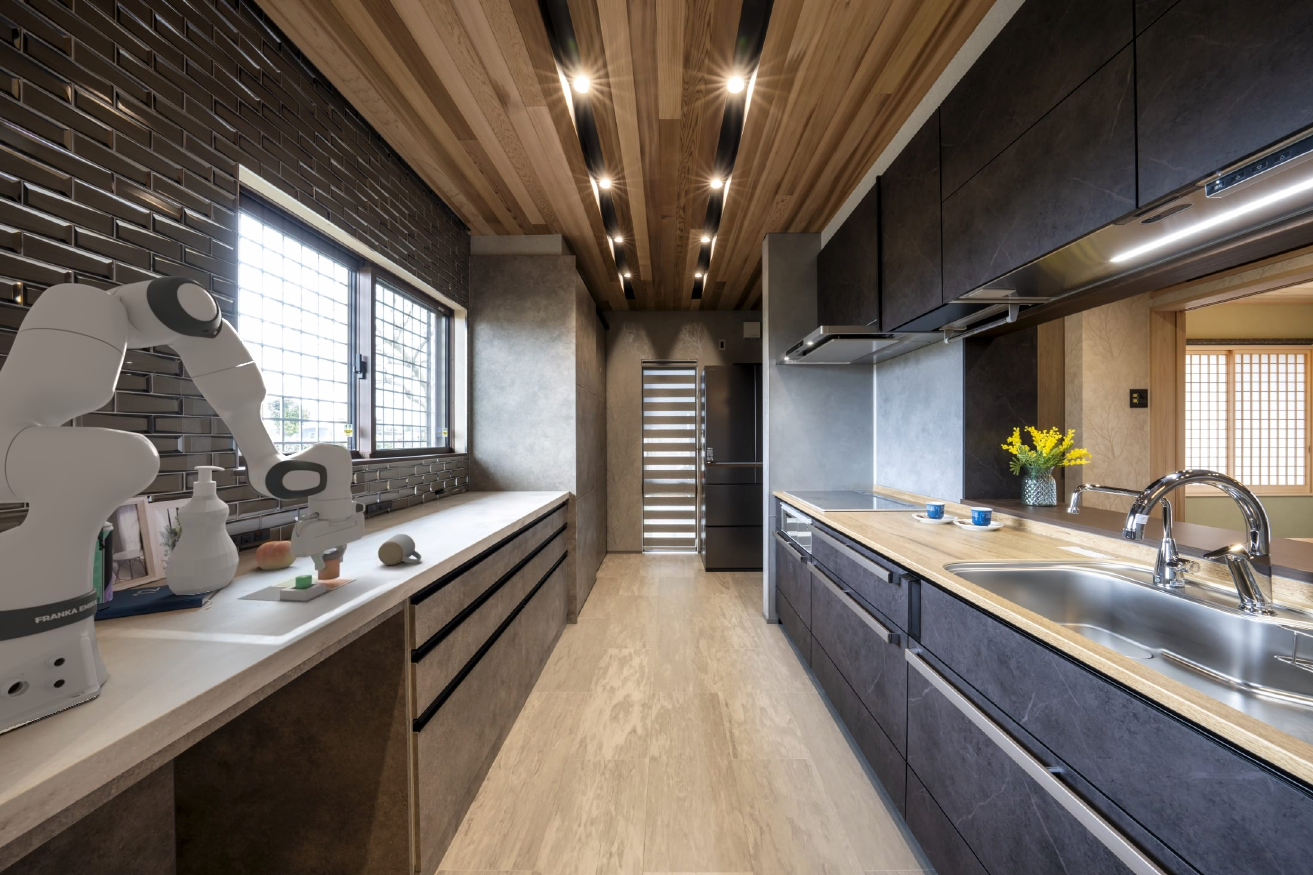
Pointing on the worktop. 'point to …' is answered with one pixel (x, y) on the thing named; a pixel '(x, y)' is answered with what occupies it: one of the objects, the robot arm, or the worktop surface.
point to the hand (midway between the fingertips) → (329, 566)
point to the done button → (303, 582)
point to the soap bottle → (202, 542)
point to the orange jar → (330, 565)
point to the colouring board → (297, 590)
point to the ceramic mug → (398, 550)
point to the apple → (274, 555)
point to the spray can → (104, 564)
